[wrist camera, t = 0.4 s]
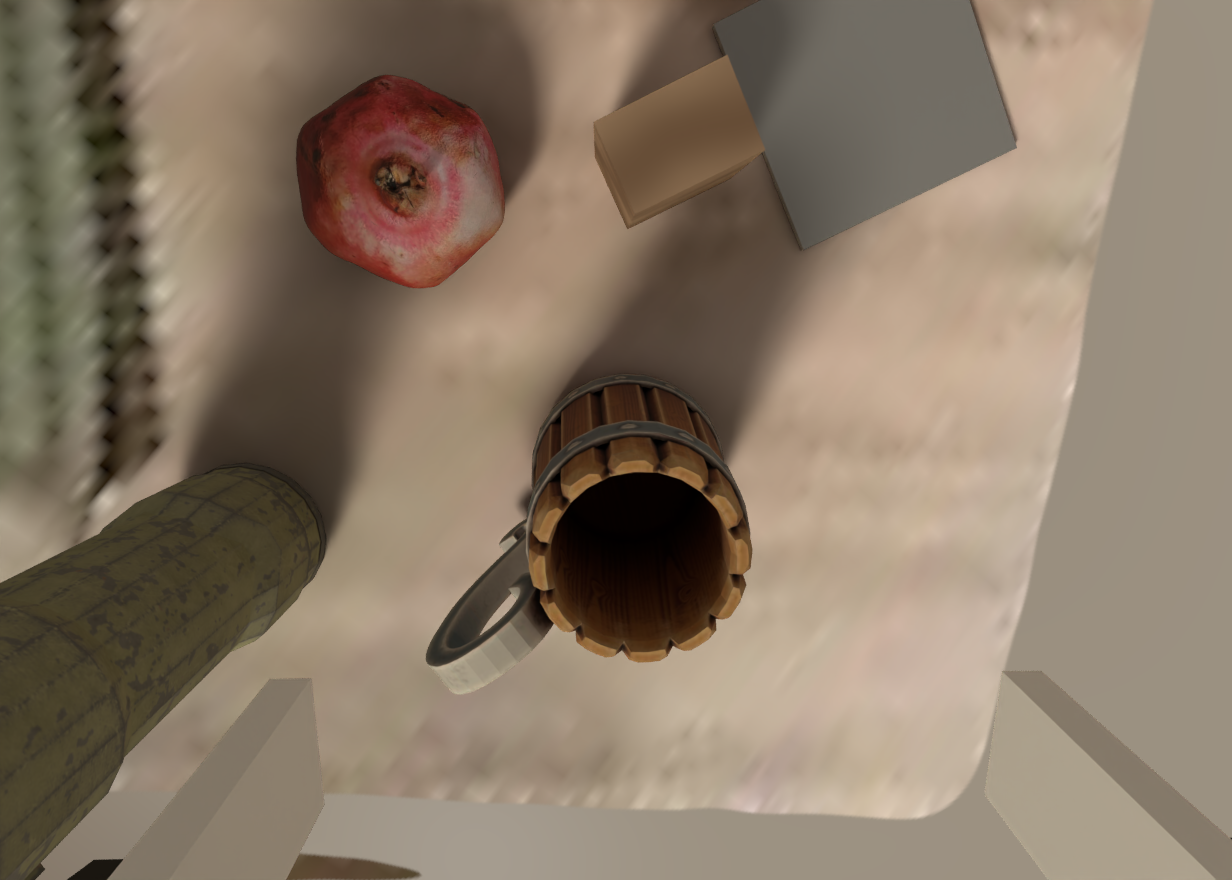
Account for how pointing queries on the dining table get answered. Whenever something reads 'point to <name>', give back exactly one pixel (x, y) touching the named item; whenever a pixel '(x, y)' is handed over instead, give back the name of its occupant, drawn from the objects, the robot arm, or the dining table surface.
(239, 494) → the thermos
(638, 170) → the push block
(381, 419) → the dining table surface
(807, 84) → the coaster
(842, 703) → the dining table surface
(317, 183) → the fruit
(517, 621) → the mug
